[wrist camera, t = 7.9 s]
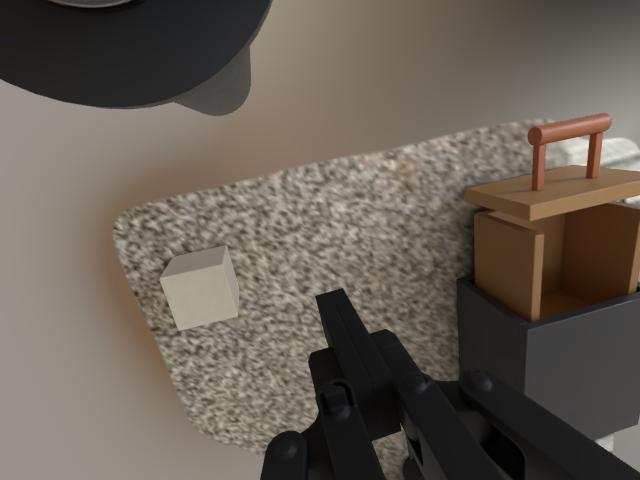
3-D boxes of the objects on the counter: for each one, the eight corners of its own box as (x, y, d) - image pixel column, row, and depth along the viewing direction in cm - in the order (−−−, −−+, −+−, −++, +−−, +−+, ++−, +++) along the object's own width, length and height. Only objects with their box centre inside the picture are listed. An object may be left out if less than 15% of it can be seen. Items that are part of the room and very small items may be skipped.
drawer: (463, 133, 29) (533, 133, 22) (577, 110, 30) (679, 103, 23) (467, 313, 35) (523, 361, 28) (562, 288, 37) (639, 327, 29)
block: (172, 256, 28) (158, 278, 24) (227, 244, 29) (222, 263, 25) (188, 303, 30) (178, 331, 26) (239, 291, 31) (237, 316, 26)
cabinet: (456, 279, 35) (527, 330, 26) (562, 252, 36) (664, 291, 27) (460, 388, 40) (521, 464, 31) (553, 360, 41) (638, 424, 32)
